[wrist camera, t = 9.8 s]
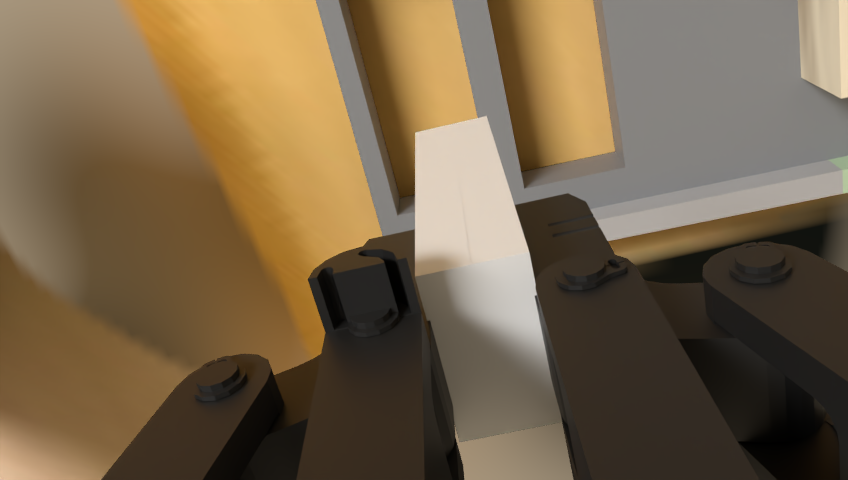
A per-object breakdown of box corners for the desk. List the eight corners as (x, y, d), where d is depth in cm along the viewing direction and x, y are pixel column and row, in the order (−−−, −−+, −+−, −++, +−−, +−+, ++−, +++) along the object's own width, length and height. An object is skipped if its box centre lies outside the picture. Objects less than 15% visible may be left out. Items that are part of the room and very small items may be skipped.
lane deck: (395, 251, 43) (389, 299, 38) (299, -95, 36) (275, -92, 31) (1012, 123, 39) (1095, 158, 34) (1040, -292, 32) (1150, -325, 27)
